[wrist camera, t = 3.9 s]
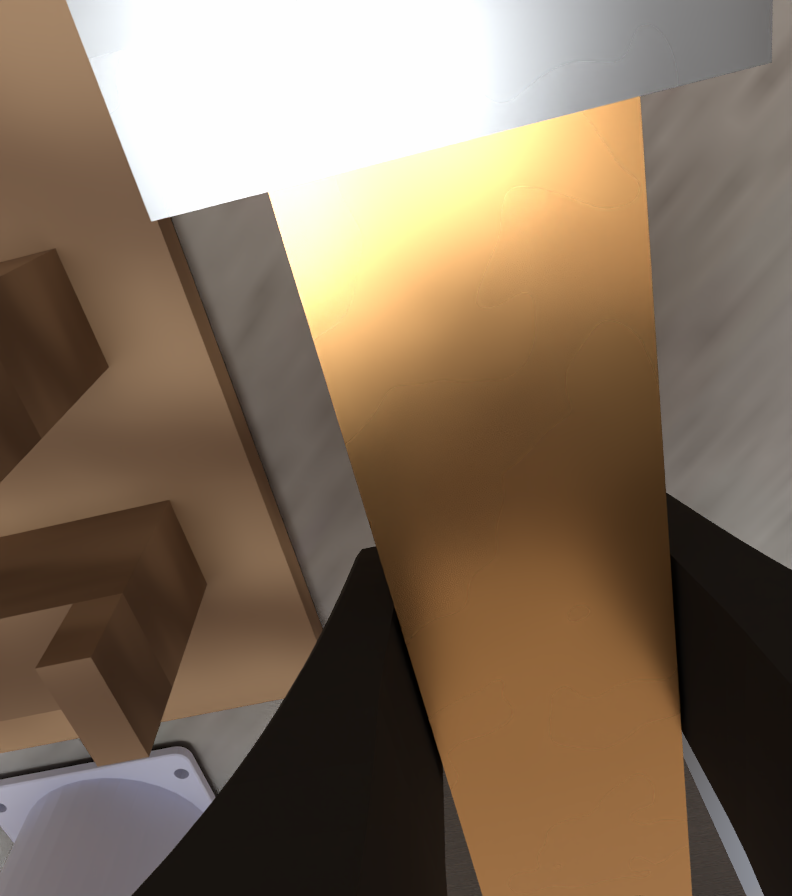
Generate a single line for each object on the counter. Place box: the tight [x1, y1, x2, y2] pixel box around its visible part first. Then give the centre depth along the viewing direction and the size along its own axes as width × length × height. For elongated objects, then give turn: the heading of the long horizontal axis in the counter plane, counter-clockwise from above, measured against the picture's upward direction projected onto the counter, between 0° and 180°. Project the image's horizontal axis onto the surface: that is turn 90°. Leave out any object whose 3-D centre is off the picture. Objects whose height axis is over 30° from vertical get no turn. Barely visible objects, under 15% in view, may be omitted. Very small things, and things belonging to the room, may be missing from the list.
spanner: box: [66, 0, 773, 896], centre depth 10 cm, size 20×5×4 cm, turn 13°
